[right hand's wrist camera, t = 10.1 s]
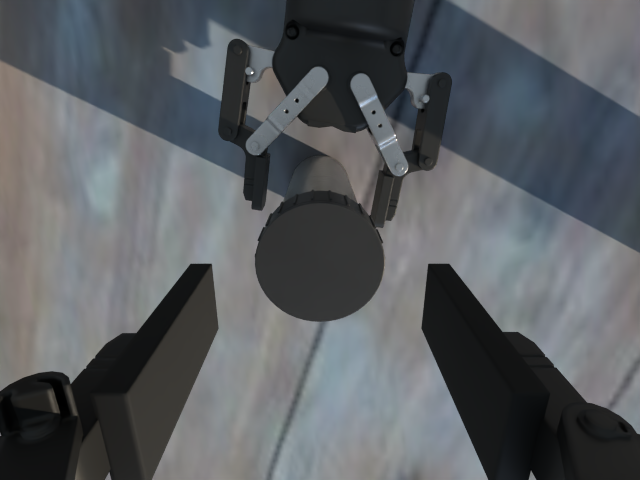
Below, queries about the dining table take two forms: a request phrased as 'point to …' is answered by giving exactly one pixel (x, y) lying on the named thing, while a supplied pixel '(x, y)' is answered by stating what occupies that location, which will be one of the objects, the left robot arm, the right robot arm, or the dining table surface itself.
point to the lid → (319, 256)
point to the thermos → (319, 177)
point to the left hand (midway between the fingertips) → (318, 215)
